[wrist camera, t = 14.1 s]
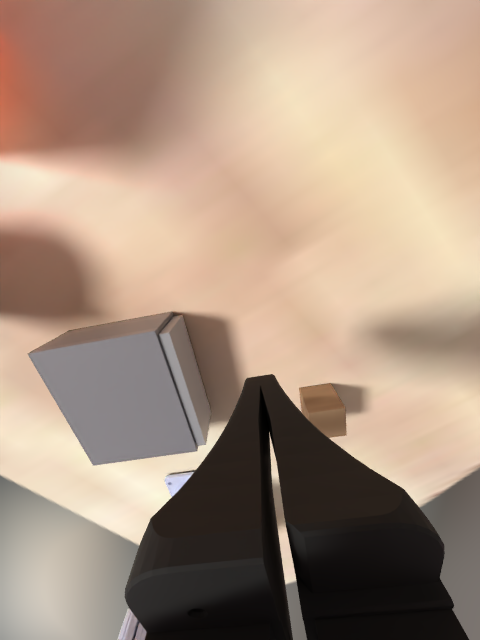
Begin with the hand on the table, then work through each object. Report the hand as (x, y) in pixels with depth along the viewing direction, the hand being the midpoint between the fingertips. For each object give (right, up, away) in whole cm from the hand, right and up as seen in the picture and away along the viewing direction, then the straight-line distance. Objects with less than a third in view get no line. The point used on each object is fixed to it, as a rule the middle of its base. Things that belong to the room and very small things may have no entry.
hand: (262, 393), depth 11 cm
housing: (-11, -2, +12) cm, 16 cm away
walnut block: (+7, -5, +13) cm, 15 cm away
